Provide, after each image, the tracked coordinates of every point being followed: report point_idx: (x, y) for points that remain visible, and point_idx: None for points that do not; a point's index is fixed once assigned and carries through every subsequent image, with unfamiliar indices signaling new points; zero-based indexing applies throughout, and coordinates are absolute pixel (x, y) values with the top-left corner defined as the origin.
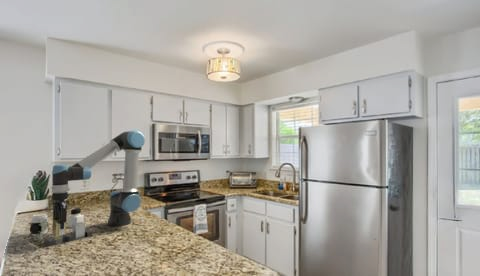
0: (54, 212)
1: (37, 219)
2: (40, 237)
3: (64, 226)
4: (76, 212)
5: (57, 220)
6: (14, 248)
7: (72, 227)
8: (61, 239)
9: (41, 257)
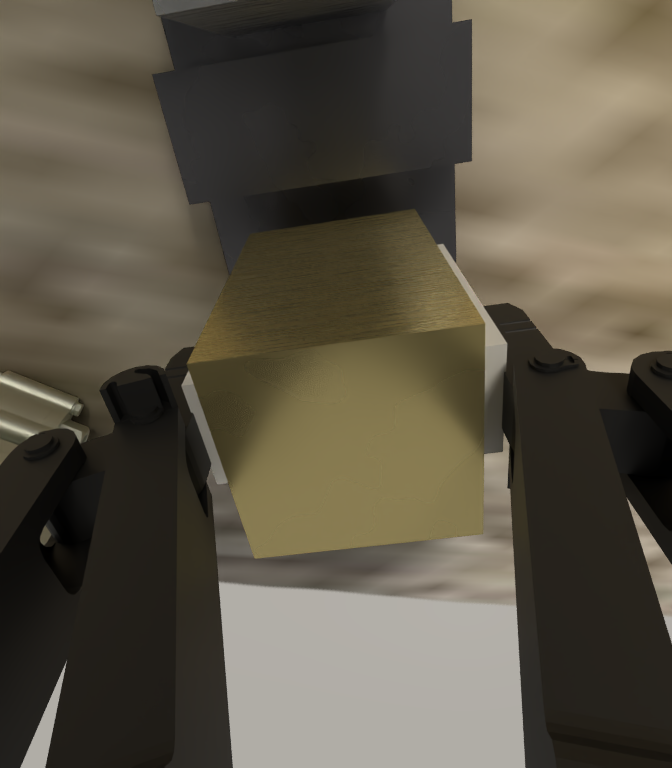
0: (24, 717)
1: None
2: (61, 418)
3: (478, 299)
4: None
5: (358, 495)
6: (227, 564)
7: (209, 20)
8: (238, 208)
9: None
